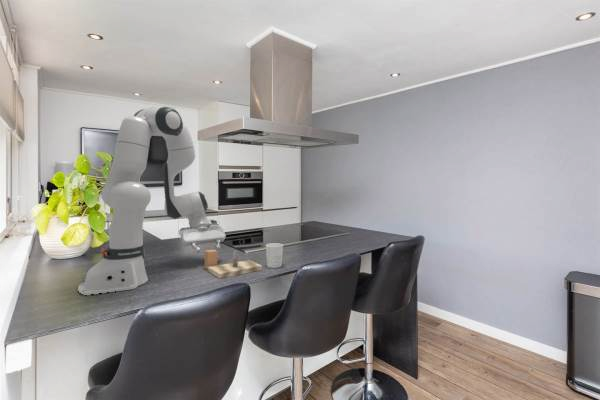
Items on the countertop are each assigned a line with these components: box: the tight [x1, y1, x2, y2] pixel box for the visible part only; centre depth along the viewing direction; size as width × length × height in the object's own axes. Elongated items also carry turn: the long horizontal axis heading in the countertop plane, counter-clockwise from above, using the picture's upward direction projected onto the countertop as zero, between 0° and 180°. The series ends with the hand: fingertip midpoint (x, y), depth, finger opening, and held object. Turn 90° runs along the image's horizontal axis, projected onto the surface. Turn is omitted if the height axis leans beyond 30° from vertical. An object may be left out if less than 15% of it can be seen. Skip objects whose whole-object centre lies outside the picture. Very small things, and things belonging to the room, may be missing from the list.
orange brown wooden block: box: [204, 248, 218, 271], centre depth 135 cm, size 4×4×8 cm
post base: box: [207, 250, 263, 280], centre depth 132 cm, size 20×12×9 cm, turn 129°
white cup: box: [265, 242, 284, 269], centre depth 140 cm, size 8×8×10 cm
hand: (208, 250), depth 138 cm, fingers open, 8 cm apart
